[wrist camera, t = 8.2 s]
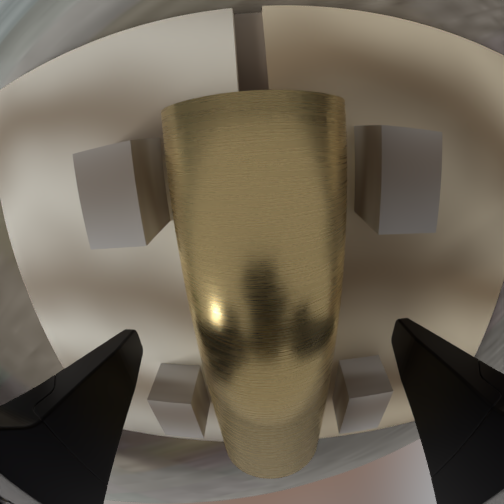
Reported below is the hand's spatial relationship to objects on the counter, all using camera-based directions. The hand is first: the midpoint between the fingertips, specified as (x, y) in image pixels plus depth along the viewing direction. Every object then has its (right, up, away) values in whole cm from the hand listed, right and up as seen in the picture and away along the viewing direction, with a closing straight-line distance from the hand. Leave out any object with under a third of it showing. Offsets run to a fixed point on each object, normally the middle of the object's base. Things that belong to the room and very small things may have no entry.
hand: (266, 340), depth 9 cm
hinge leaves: (0, +1, +3) cm, 4 cm away
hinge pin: (0, +1, +2) cm, 2 cm away
